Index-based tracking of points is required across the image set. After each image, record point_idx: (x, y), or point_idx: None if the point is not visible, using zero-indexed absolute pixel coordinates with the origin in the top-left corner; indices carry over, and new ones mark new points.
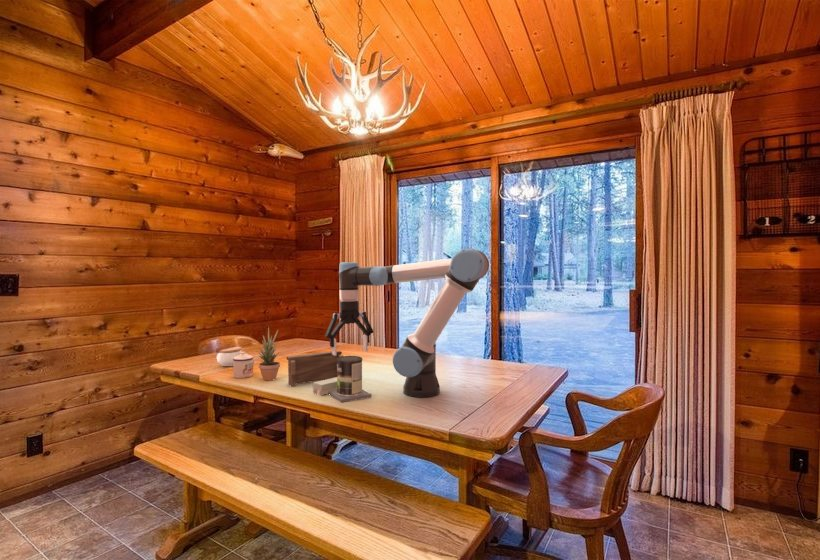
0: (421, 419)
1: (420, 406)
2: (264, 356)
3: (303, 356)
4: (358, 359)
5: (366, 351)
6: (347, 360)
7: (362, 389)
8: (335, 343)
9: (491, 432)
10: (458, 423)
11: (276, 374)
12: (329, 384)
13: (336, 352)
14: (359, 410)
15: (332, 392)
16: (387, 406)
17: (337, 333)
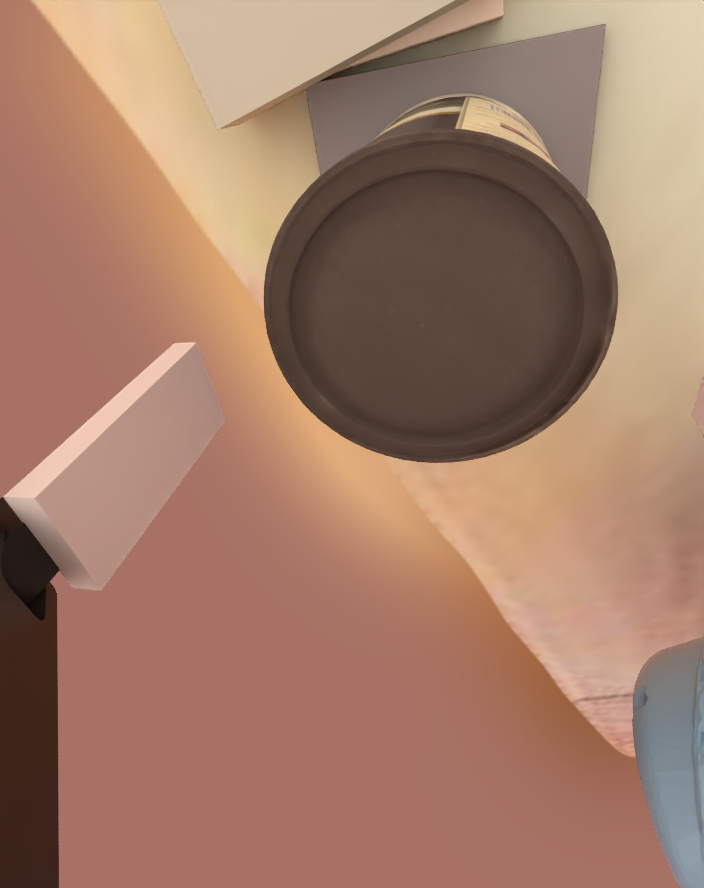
0: (568, 632)
1: (684, 556)
2: None
3: None
4: (512, 409)
5: (702, 414)
6: (374, 397)
7: (589, 161)
8: (133, 529)
9: None
10: None
11: None
12: (295, 88)
13: (209, 441)
14: (401, 470)
15: (330, 133)
16: (546, 489)
17: (56, 687)
